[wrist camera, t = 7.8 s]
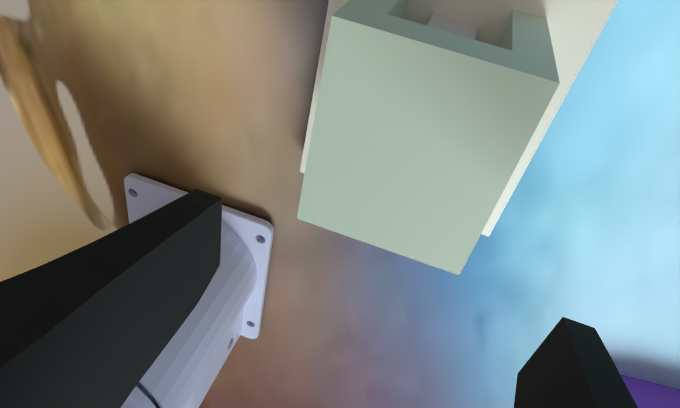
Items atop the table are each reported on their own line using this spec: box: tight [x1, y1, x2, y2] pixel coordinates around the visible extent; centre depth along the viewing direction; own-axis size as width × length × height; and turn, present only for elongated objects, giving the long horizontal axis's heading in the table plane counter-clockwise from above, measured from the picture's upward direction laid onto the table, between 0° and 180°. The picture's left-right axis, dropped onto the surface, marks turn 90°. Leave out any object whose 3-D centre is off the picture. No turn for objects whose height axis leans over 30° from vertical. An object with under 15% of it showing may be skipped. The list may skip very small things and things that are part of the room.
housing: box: [297, 0, 560, 275], centre depth 14 cm, size 6×5×5 cm
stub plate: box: [300, 0, 618, 237], centre depth 15 cm, size 10×8×4 cm
